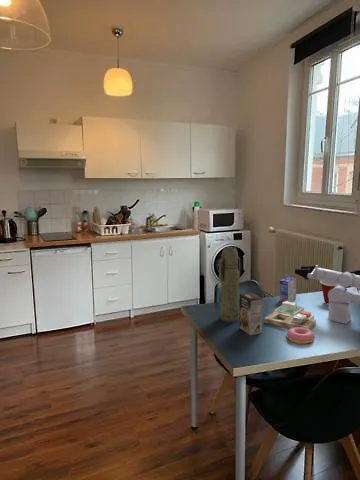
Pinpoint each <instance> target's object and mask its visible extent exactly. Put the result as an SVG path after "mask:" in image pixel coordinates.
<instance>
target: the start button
mask: <svg viewBox="0 0 360 480" xmlns="http://www.w3.org/2000/svg"><path fill="white" fill-rule="evenodd" d="M300 314H303V315H307V318H309V317H310V316H311V315H312V312H311V311H306V310H304V311H302V312H301V313H300Z"/></svg>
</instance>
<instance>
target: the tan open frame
mask: <svg viewBox="0 0 360 480" xmlns="http://www.w3.org/2000/svg"><path fill="white" fill-rule="evenodd" d="M293 317H294V316H293V315H289V314H284V313H279V312H274V311H273V312H271V313H270V314H269V315H267V316H265V317H264V324H270V325H273V326H278V327H279V326H280V327H282V328H286V329H291V328H294V327H302V328H307V329H309V330H312V329H313V328H314V327H316V325H317V320H316V319H313V320H312V319H306V323H305V324H304V325H299V324H295V323H293ZM282 319H284V320H282Z"/></svg>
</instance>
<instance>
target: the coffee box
mask: <svg viewBox="0 0 360 480" xmlns="http://www.w3.org/2000/svg"><path fill="white" fill-rule="evenodd" d="M262 326H263V297H261V296H259V295H257V294H255V293H254V292H244V293H243V292H242V293H239V329H240V330H242V331H243V332H244V333H246V334H247V335H249V336H254V335H260V334H262V333H263V332H262V331H263V330H262V329H263V327H262Z"/></svg>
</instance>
